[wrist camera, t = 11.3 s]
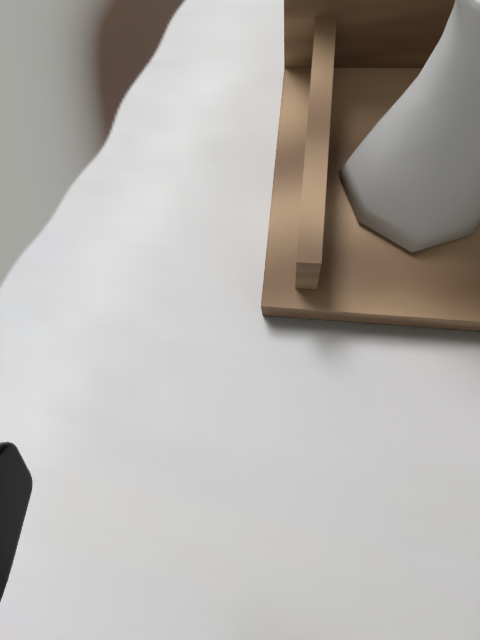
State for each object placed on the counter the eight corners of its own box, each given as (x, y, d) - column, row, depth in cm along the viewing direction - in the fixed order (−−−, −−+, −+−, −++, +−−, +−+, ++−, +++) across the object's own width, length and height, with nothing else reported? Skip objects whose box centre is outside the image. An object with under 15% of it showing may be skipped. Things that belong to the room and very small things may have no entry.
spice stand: (566, 337, 20) (898, 206, 9) (262, 315, 22) (239, 182, 11) (541, 73, 24) (752, -237, 13) (286, 72, 26) (286, -203, 15)
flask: (529, 195, 21) (736, -21, 11) (407, 280, 20) (516, 129, 11) (425, 97, 23) (525, -155, 13) (311, 172, 22) (331, -35, 13)
